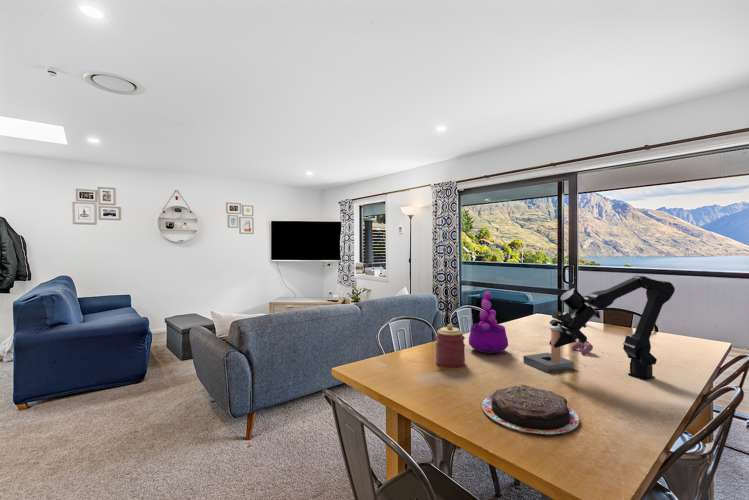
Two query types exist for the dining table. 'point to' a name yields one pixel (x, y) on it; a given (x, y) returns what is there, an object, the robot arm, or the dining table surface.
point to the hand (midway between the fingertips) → (552, 345)
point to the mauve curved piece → (583, 347)
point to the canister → (450, 347)
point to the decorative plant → (488, 330)
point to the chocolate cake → (530, 410)
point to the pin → (554, 337)
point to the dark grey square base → (548, 363)
